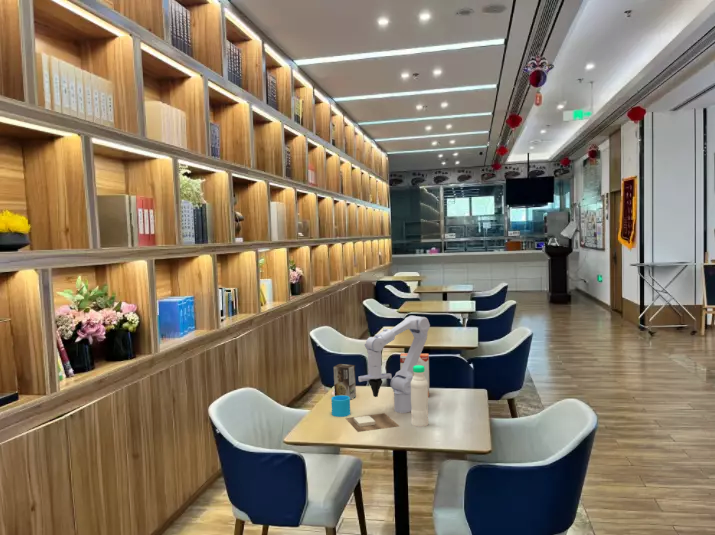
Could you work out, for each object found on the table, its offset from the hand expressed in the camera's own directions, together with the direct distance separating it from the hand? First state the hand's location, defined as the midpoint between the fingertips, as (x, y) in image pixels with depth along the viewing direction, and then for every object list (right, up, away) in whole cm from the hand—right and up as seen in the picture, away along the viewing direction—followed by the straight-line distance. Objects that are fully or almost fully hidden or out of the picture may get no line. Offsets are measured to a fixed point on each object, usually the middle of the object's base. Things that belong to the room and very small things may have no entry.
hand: (375, 396), depth 226 cm
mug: (-14, -10, +7) cm, 19 cm away
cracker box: (+21, -8, +34) cm, 41 cm away
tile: (-2, -8, -7) cm, 11 cm away
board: (-2, -10, -7) cm, 12 cm away
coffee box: (-14, -9, +34) cm, 38 cm away
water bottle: (+18, -10, -10) cm, 23 cm away
